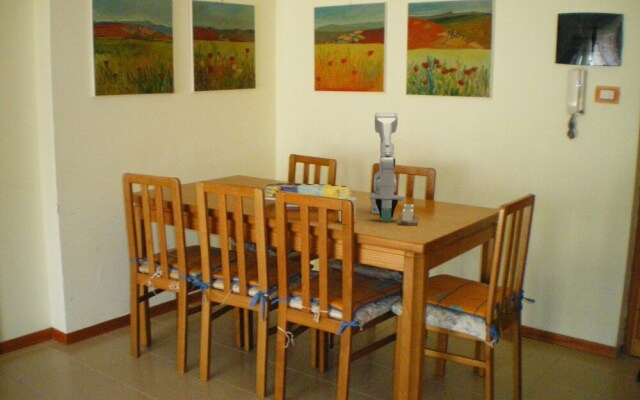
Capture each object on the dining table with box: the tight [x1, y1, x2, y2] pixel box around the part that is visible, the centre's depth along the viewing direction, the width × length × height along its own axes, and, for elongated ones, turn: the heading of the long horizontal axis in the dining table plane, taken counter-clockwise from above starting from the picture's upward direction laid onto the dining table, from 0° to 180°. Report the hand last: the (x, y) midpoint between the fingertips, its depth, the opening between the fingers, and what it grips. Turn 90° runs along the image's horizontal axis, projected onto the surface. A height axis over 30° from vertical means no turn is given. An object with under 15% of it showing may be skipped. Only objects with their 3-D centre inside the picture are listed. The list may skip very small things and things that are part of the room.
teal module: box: [380, 208, 393, 223], centre depth 289 cm, size 4×4×5 cm
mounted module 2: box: [402, 208, 414, 221], centre depth 282 cm, size 4×4×4 cm
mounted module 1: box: [403, 203, 415, 213], centre depth 293 cm, size 4×4×4 cm
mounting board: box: [396, 214, 419, 227], centre depth 288 cm, size 8×16×2 cm, turn 171°
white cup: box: [337, 196, 358, 223], centre depth 286 cm, size 8×8×10 cm
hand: (386, 217), depth 289 cm, fingers closed on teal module, 4 cm apart
